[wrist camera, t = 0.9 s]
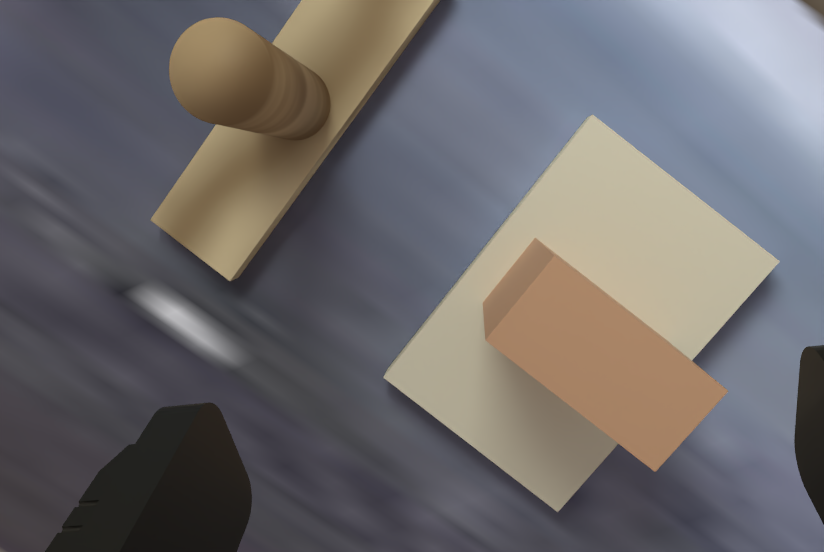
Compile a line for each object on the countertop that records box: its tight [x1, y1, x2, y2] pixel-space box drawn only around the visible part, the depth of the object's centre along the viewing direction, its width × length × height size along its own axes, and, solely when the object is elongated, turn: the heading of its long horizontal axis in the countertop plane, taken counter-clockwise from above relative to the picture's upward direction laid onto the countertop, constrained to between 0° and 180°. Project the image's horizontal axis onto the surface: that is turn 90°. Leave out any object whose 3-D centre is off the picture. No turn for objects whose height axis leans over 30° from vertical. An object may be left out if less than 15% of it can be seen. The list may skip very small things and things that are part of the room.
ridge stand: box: [383, 115, 780, 512], centre depth 30 cm, size 11×16×10 cm
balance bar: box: [151, 0, 440, 281], centre depth 29 cm, size 5×18×12 cm, turn 143°
